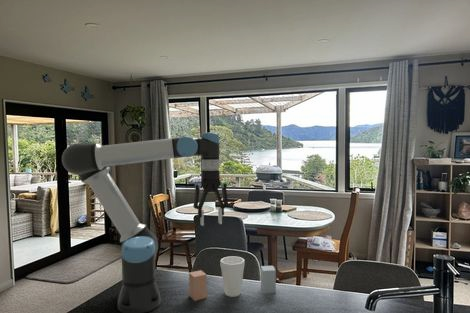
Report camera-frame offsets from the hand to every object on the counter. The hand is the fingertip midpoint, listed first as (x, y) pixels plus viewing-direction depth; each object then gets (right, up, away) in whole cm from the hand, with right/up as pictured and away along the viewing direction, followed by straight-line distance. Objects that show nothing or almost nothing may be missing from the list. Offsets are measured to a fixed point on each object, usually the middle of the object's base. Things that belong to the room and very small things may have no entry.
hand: (211, 224), depth 137 cm
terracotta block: (-4, -25, -12) cm, 28 cm away
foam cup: (+9, -25, -9) cm, 28 cm away
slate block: (+23, -25, -7) cm, 35 cm away
